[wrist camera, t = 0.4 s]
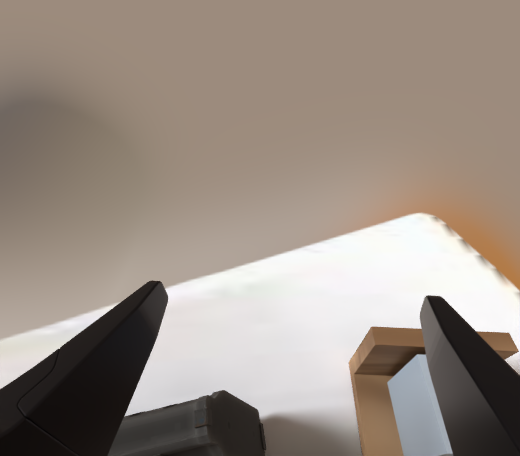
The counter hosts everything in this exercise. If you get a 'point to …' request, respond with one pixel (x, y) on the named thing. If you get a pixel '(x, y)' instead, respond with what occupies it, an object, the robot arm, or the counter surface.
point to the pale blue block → (418, 411)
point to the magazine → (193, 429)
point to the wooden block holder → (384, 369)
